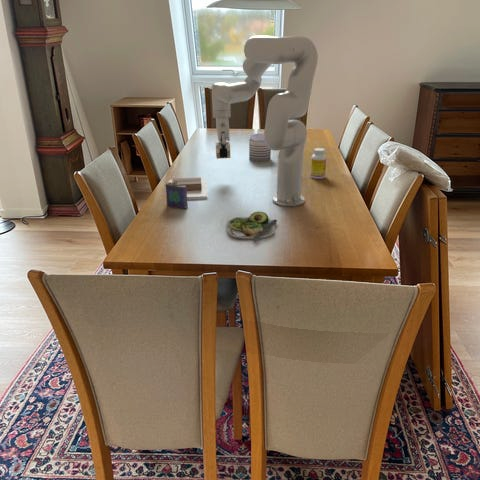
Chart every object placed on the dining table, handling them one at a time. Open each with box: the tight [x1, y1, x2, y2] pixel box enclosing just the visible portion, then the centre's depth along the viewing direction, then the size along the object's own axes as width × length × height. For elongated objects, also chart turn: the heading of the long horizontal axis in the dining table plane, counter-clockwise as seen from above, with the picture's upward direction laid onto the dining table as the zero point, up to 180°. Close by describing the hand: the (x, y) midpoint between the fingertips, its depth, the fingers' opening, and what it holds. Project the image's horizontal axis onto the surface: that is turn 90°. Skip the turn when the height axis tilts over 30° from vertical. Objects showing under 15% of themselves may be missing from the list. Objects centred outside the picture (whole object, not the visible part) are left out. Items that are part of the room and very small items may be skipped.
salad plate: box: [226, 211, 278, 242], centre depth 158 cm, size 19×18×5 cm
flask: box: [165, 180, 189, 210], centre depth 177 cm, size 9×3×11 cm, turn 63°
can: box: [248, 133, 272, 164], centre depth 234 cm, size 11×11×12 cm
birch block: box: [215, 141, 231, 160], centre depth 203 cm, size 4×6×6 cm
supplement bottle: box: [309, 147, 327, 180], centre depth 209 cm, size 7×7×13 cm
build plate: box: [168, 178, 208, 201], centre depth 196 cm, size 22×16×1 cm
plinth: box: [171, 176, 202, 191], centre depth 195 cm, size 8×12×3 cm, turn 96°
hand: (223, 155), depth 204 cm, fingers closed on birch block, 4 cm apart
